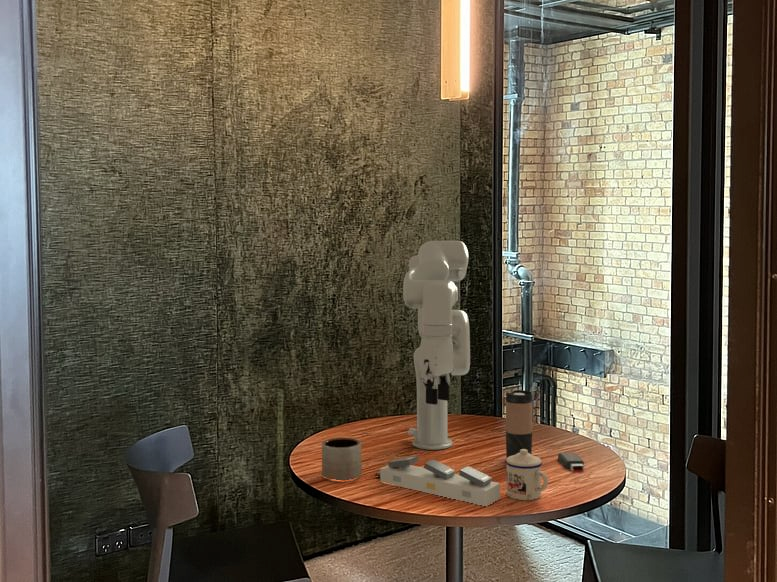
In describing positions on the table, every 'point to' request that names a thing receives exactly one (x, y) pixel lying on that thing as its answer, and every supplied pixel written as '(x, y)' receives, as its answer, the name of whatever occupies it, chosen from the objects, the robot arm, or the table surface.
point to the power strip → (440, 484)
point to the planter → (341, 458)
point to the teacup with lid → (525, 476)
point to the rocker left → (403, 461)
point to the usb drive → (571, 461)
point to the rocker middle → (439, 469)
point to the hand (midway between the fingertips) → (437, 401)
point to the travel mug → (518, 422)
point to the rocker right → (475, 476)
